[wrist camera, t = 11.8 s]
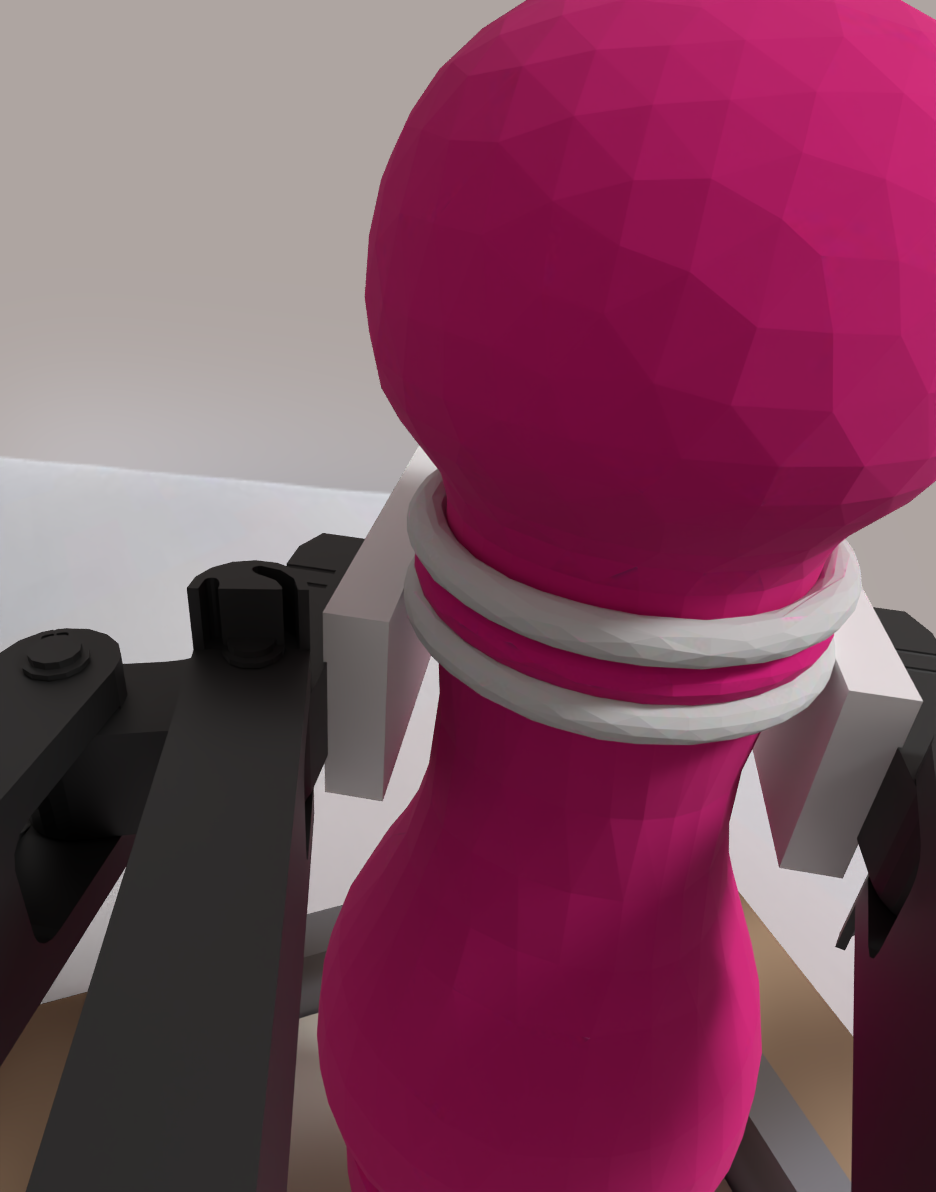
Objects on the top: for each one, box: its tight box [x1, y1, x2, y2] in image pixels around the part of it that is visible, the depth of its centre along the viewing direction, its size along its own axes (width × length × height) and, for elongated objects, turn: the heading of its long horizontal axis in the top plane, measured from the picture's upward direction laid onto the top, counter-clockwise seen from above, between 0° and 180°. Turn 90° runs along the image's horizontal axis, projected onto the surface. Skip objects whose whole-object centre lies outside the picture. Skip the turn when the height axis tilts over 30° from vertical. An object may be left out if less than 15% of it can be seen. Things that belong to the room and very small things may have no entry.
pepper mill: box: [317, 0, 936, 1192], centre depth 11 cm, size 7×7×20 cm
